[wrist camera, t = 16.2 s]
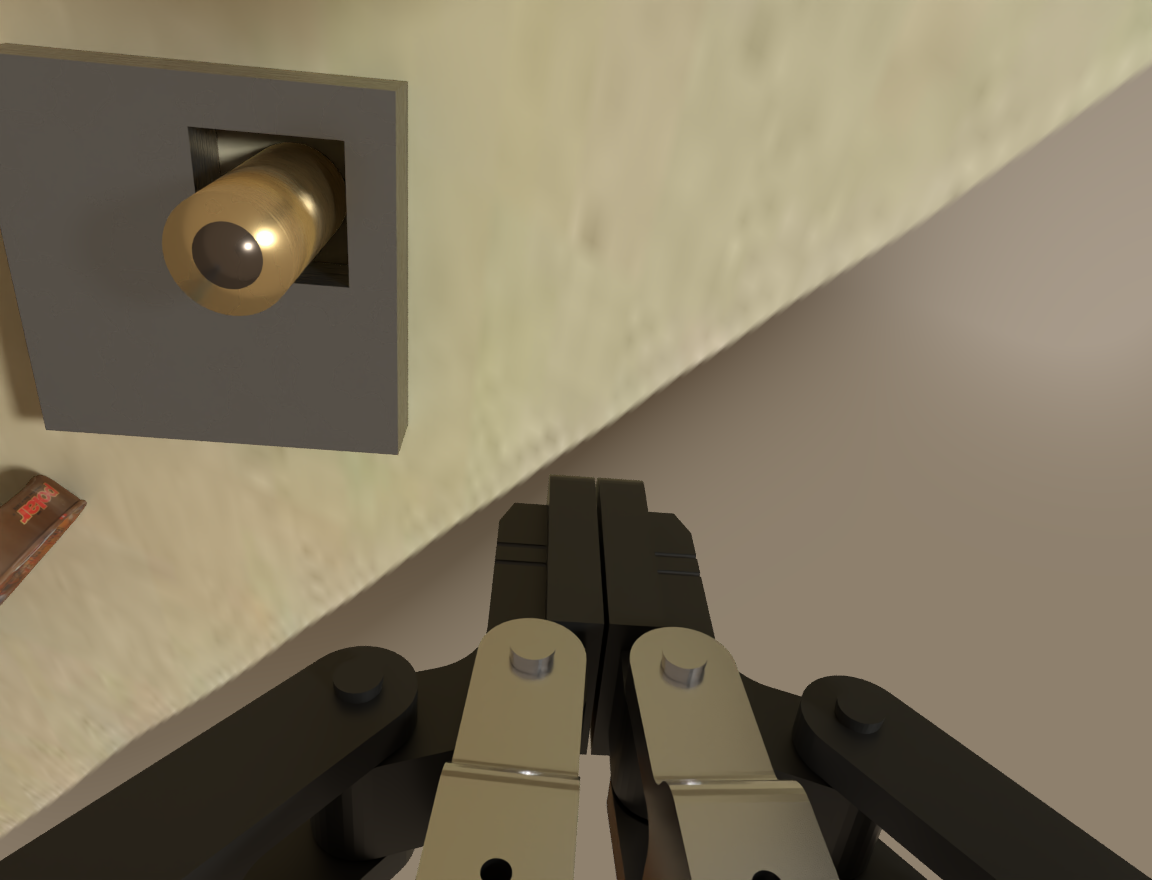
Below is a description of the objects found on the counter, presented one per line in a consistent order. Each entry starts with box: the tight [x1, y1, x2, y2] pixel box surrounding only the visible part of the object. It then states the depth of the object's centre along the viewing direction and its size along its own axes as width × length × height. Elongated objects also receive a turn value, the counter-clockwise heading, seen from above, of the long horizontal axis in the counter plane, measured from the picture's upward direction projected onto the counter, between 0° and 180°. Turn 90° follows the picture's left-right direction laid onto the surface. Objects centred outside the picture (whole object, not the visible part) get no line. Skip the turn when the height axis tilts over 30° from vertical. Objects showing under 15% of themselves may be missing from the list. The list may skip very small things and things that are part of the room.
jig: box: [0, 43, 408, 455], centre depth 38 cm, size 16×16×3 cm
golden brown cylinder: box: [162, 142, 347, 316], centre depth 34 cm, size 4×4×9 cm
